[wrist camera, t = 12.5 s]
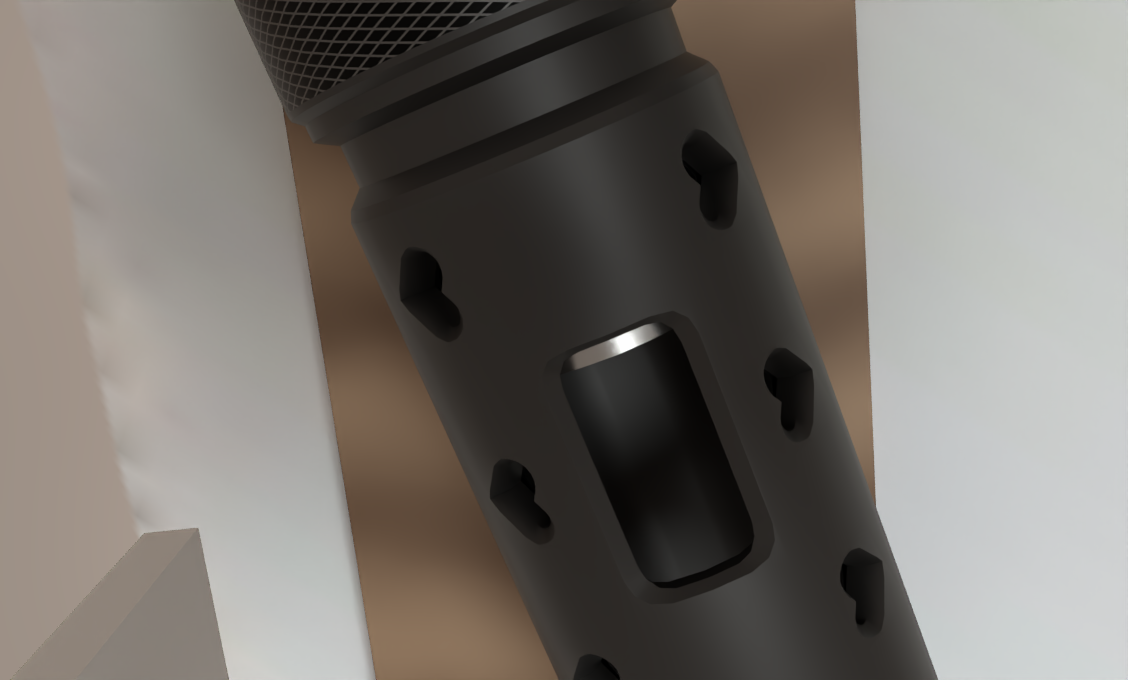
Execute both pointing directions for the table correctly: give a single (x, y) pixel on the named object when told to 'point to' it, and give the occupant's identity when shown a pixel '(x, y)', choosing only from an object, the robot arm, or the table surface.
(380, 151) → the muzzle brake
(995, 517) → the table surface
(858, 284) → the mounting board
